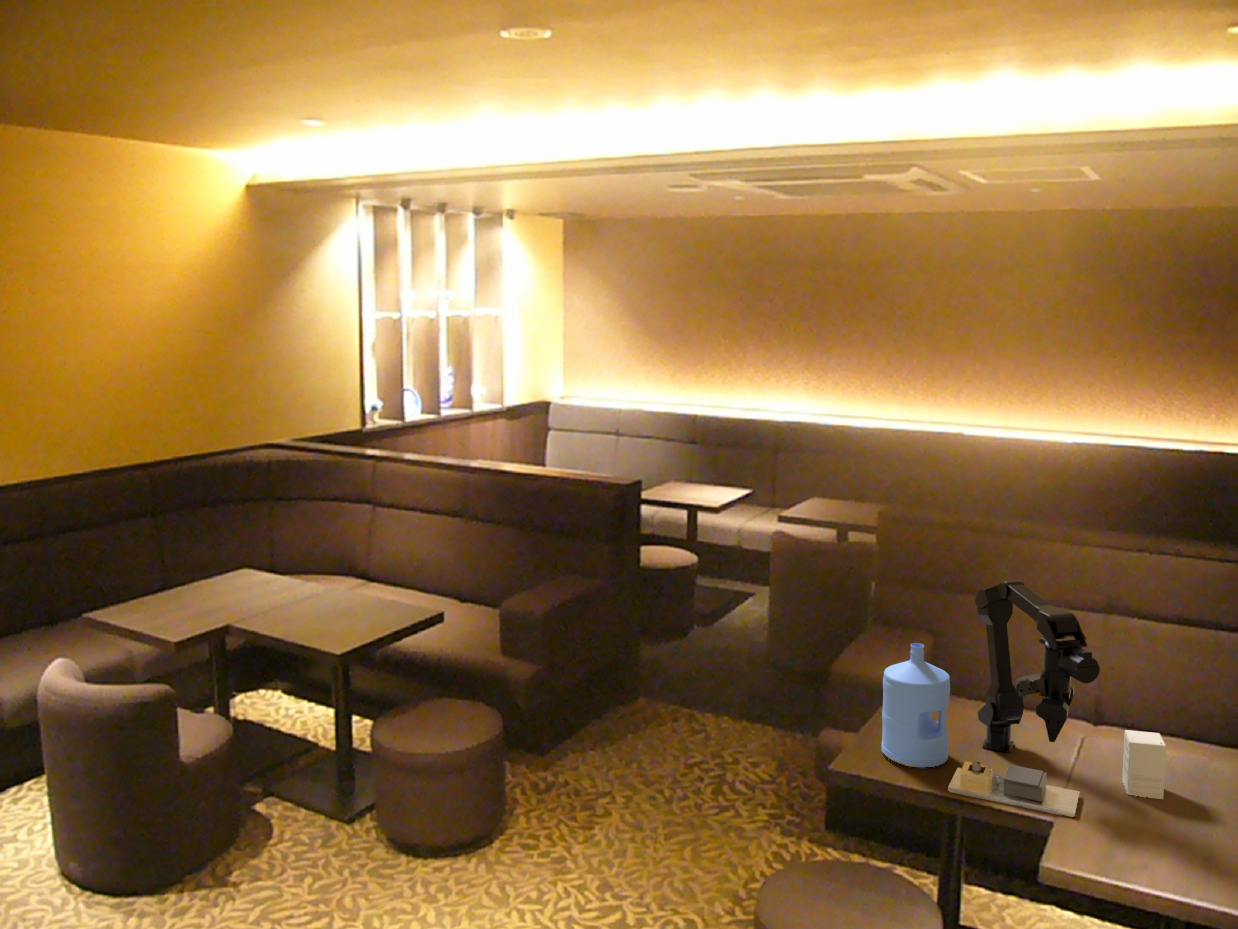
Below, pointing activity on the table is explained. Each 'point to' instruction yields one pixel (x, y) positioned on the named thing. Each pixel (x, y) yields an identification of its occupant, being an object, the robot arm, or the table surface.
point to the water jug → (915, 711)
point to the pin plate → (1051, 802)
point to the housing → (1025, 782)
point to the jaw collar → (976, 776)
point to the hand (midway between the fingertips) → (1054, 734)
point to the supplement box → (1144, 764)
